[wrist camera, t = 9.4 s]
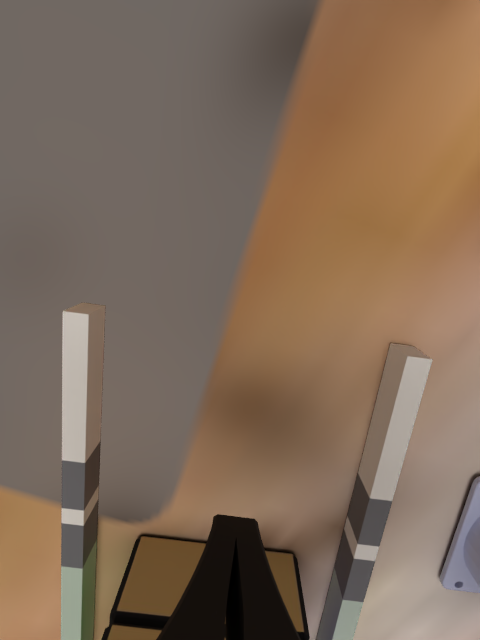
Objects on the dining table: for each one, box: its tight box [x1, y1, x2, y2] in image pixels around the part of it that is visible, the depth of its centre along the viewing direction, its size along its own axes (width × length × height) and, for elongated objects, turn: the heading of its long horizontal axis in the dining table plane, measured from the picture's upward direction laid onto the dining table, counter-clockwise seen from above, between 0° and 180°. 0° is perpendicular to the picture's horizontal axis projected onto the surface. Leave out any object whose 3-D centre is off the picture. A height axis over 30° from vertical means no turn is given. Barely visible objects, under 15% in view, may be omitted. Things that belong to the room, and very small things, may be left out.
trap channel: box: [61, 303, 433, 640], centre depth 21 cm, size 17×26×2 cm
